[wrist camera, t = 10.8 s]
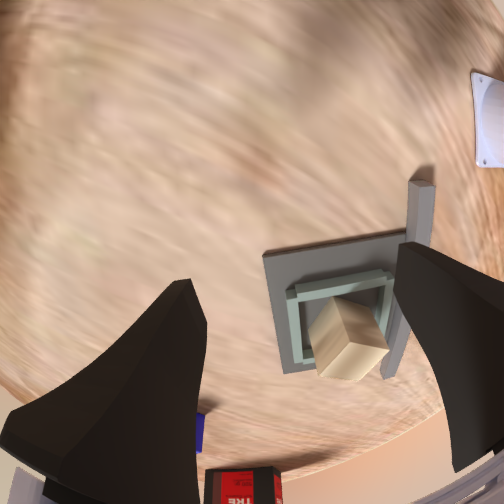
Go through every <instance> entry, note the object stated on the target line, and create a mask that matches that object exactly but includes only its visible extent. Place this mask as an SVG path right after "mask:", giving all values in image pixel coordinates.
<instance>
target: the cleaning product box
mask: <svg viewBox="0 0 504 504" xmlns="http://www.w3.org/2000/svg"><path fill="white" fill-rule="evenodd" d="M204 487H205V488H204V504H283V499H282V485H281V473H280V472H279V471H278V470H277V469H276V468H274V467H273V466H270V467H260V468H247V469H222V470H206V471H205V486H204Z"/></svg>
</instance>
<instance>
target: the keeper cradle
mask: <svg viewBox="0 0 504 504" xmlns="http://www.w3.org/2000/svg"><path fill="white" fill-rule="evenodd" d="M405 237H406V234H405V233H404V232H399V233H393V234H387V235H381V236H375V237H369V238H363V239H357V240H351V241H346V242H340V243H334V244H328V245H322V246H316V247H309V248H303V249H297V250H291V251H285V252H279V253H273V254H267V255H262V257H263V263H264V268H265V274H266V279H267V285H268V290H269V296H270V301H271V307H272V312H273V318H274V323H275V329H276V335H277V340H278V346H279V352H280V357H281V363H282V369H283V374H288V373H295V372H301V371H306V370H312V369H317V368H316V363H315V359H314V354H313V350H312V346H311V341H310V337H309V333H308V329H309V327H310V326H311V325H312V323H313V322H314V321H315V319H316V318H317V317H318V315H319V314H320V312H321V311H322V310H323V308H324V307H325V305H326V304H327V303H328V301H329V300H330V298H331V297H332V296H335V297H338V298H341V299H345V300H348V301H351V302H354V303H357V304H360V305H363V306H366V307H369V308H370V310H371V312H372V314H373V316H374V318H375V320H376V322H377V324H378V326H379V328H380V330H381V332H382V334H383V336H384V338H385V341H386V343H387V341H388V337H389V333H390V329H391V325H392V320H393V316H394V311H395V306H396V301H397V300H396V297H395V295H394V292H393V286H394V279H395V272H396V264H397V255H398V246H399V244H400V243H405Z"/></svg>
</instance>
